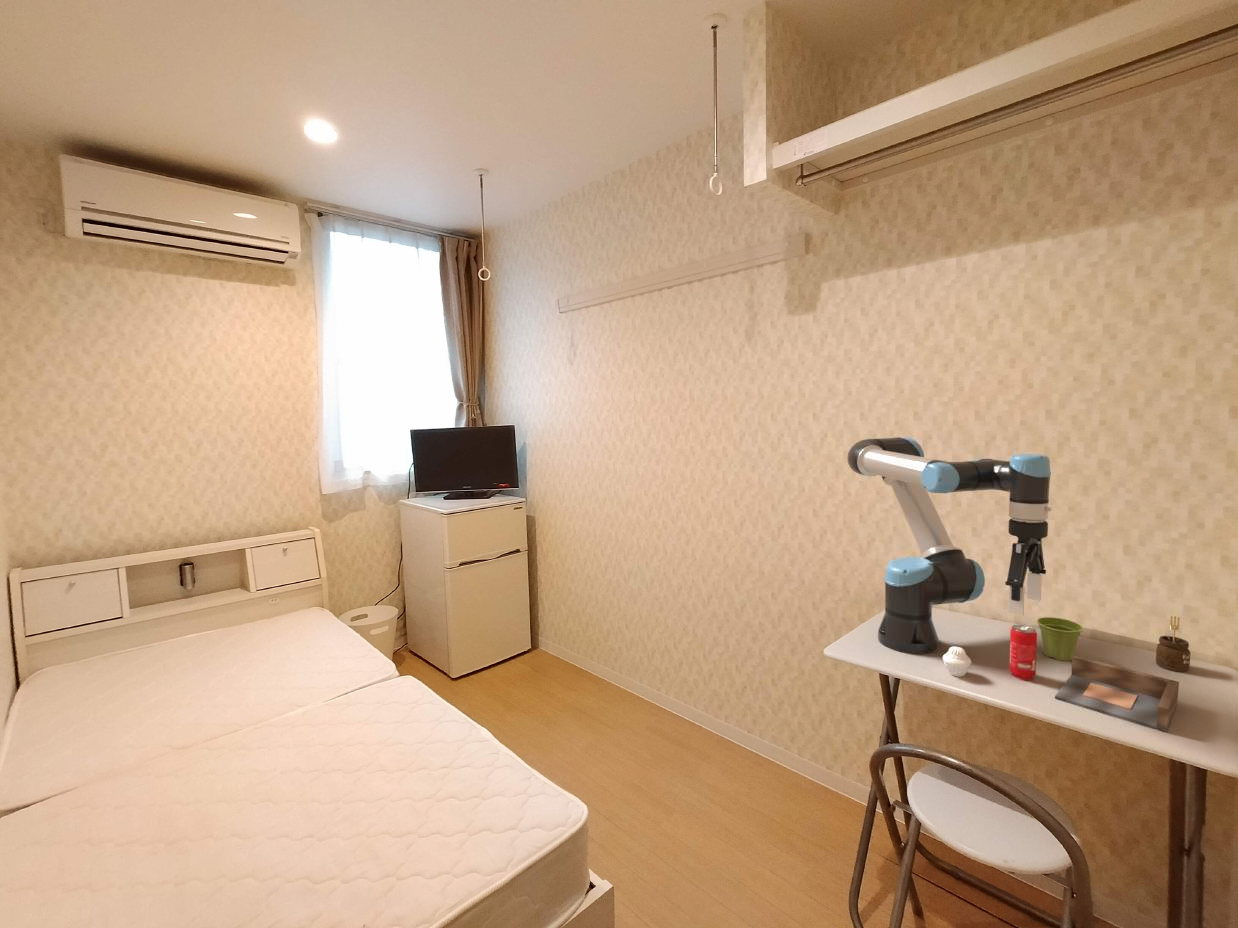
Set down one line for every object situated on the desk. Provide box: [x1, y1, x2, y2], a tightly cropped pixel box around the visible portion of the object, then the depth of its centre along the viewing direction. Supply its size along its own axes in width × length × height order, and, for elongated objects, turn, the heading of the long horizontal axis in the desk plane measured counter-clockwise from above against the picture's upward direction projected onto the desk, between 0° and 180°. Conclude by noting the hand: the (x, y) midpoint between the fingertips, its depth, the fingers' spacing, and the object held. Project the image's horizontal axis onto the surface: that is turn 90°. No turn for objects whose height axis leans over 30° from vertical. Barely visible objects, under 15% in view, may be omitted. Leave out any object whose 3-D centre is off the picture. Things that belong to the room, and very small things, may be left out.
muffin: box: [942, 646, 972, 678], centre depth 137 cm, size 6×6×7 cm
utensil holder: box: [1155, 615, 1191, 673], centre depth 136 cm, size 6×6×12 cm
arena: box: [1054, 654, 1180, 734], centre depth 122 cm, size 18×16×5 cm
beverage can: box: [1008, 624, 1038, 681], centre depth 134 cm, size 5×5×12 cm
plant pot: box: [1036, 616, 1084, 662], centre depth 144 cm, size 9×9×9 cm
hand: (1025, 606), depth 133 cm, fingers open, 13 cm apart
